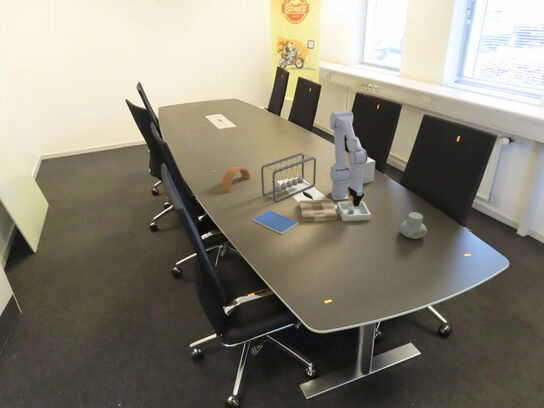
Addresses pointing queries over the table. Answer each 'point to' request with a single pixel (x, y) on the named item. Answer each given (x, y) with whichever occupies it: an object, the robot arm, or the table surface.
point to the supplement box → (368, 171)
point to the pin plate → (317, 215)
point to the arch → (230, 175)
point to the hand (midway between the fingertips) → (354, 202)
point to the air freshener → (413, 226)
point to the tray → (359, 214)
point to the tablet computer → (275, 221)
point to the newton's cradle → (289, 183)
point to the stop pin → (351, 205)
